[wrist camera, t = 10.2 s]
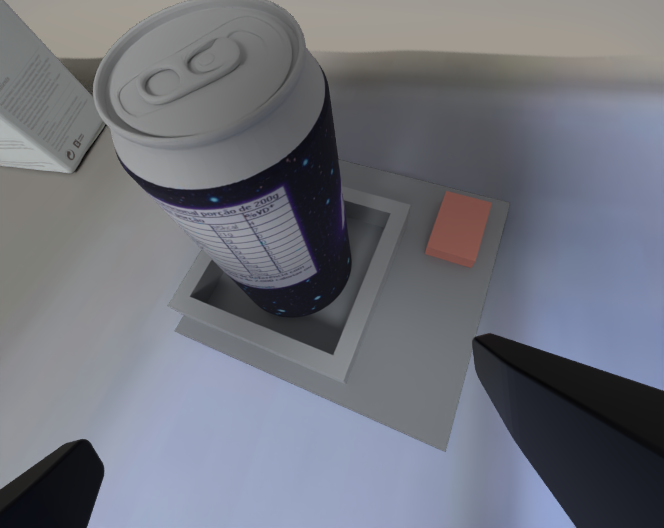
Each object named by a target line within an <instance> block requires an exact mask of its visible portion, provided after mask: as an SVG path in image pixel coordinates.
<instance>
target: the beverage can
mask: <svg viewBox="0 0 664 528" xmlns="http://www.w3.org/2000/svg"><path fill="white" fill-rule="evenodd" d="M93 98H94V103H95V107H96V109H97V111H98V113H99V115H100V117H101V118H102V120H103V121H104V122H105V123H106V124H107V126H109V127H110V129H111V134H112V138H113V143H114V147H115V151H116V154H117V156H118V159H119V161H120V163H121V165H122V166H123V168H124V169H125V170H126V172H127V173H128V174H129V175H130V176H131V177H132V178H133V179H134V180H135V181H136V182H137V183H138V184H139V185H140V186H141V187H142V188H143V189H144V190H145V191H146V192H147V193H148V194H149V195H150V196H151V197H152V198H153V199H154V200H155V201H156V203H157V204H158V205H159V206H160V207H161V208H162V209H163V210H164V211H165V212H166V213H167V214H168V215H169V216H170V217H171V218H172V219H173V220H174V221H175V222H176V223H177V224H178V225H179V226H180V227H181V228H182V229H183V230H184V231H185V232H186V233H187V234H188V235H189V236H190V237H191V238H192V239H193V240H194V241H195V242H196V243H197V244H198V245H199V246H200V247H201V248H202V250H203V251H204V252H205V253H206V254H207V255H208V256H209V257H210V258H211V259H212V260H213V261H214V262H215V263H216V264H217V265H218V266H219V267H220V268H221V269H222V270H223V271H224V272H225V273H226V274H227V275H228V276H229V277H230V278H231V279H232V280H233V281H234V282H235V283H236V284H237V285H238V286H239V287H240V288H241V289H242V290H243V291H244V292H245V293H246V294H247V295H248V297H249V298H250V299H251V300H252V301H253V302H254V303H255V304H256V305H258V306H259V307H260V308H262V309H263V310H265V311H266V312H268V313H271V314H273V315H277V316H281V317H289V318H294V317H303V316H307V315H311V314H313V313H316V312H318V311H320V310H322V309H324V308H325V307H327V306H328V305H330V304H331V303H332V302H333V301H334V300H335V299H336V298H337V297H338V296H339V295H340V294H341V292H342V291H343V289H344V288H345V286H346V284H347V282H348V279H349V276H350V272H351V266H352V259H351V250H350V243H349V235H348V228H347V221H346V213H345V206H344V198H343V191H342V183H341V176H340V168H339V161H338V153H337V146H336V138H335V131H334V123H333V116H332V108H331V101H330V93H329V87H328V82H327V79H326V76H325V74H324V72H323V70H322V68H321V67H320V65H319V64H318V62H317V61H316V59H315V58H314V57H313V56H312V54H311V53H310V52H309V51H308V49H307V48H306V45H305V39H304V35H303V33H302V30H301V28H300V26H299V24H298V23H297V21H296V20H295V19H294V17H293V16H292V15H291V14H290V13H288V12H287V11H286V10H285V9H284V8H282V7H280V6H279V5H277V4H275V3H273V2H271V1H268V0H187V1H184V2H181V3H178V4H175V5H173V6H170V7H167V8H165V9H163V10H161V11H159V12H157V13H155V14H153V15H151V16H149V17H148V18H146V19H144V20H143V21H141V22H139V23H138V24H136V25H135V26H134V27H132V28H131V29H130V30H128V31H127V32H126V33H125V34H124V35H123V36H122V37H121V38H119V39H118V40H117V41H116V43H115V44H114V45H113V46H112V47H111V48H110V49H109V51H108V52H107V53H106V55H105V56H104V58H103V59H102V61H101V63H100V65H99V67H98V69H97V72H96V75H95V79H94V83H93Z"/></svg>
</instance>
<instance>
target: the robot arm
mask: <svg viewBox="0 0 664 528" xmlns="http://www.w3.org/2000/svg"><path fill="white" fill-rule="evenodd" d="M472 348H473V356H474V364H475V370H476V373H477V376H478V378H479V380H480V381H481V383H482V385H483V387H484V388H485V390H486V392H487V394H488V396H489V397H490V399H491V401H492V403H493V404H494V406H495V408H496V410H497V411H498V413H499V415H500V417H501V418H502V420H503V422H504V424H505V425H506V427H507V429H508V431H509V432H510V434H511V436H512V437H513V439H514V440H515V442H516V443H517V445H518V446H519V448H520V449H521V451H522V452H523V454H524V455H525V456H526V458H527V459H528V461H529V462H530V463H531V465H532V466H533V468H534V469H535V470H536V472H537V473H538V475H539V476H540V477H541V479H542V480H543V482H544V483H545V484H546V486H547V487H548V489H549V490H550V491H551V493H552V494H553V495H554V497H555V498H556V500H557V501H558V502H559V504H560V505H561V507H562V508H563V509H564V511H565V512H566V514H567V515H568V516H569V518H570V519H571V521H572V522H573V523H574V525H575V526H576V528H664V391H663V390H660V389H657V388H654V387H651V386H648V385H645V384H642V383H639V382H636V381H633V380H630V379H627V378H624V377H621V376H618V375H615V374H612V373H609V372H606V371H603V370H600V369H597V368H594V367H591V366H588V365H585V364H582V363H579V362H576V361H573V360H570V359H567V358H564V357H561V356H558V355H555V354H552V353H549V352H546V351H543V350H540V349H537V348H534V347H531V346H528V345H525V344H522V343H519V342H516V341H513V340H510V339H507V338H504V337H501V336H498V335H495V334H491V333H488V334H484V335H480V336H476V337H474V338H473V339H472ZM103 477H104V465H103V463H102V461H101V459H100V458H99V456H98V454H97V453H96V451H95V449H94V448H93V446H92V444H91V443H90V442H89V441H88V440H86V439H80V440H76V441H72V442H69V443H66V444H64V445H62V446H61V447H59V448H58V449H57V450H55V451H54V452H52V453H51V454H50V455H48V456H47V457H45V458H44V459H43V460H41V461H40V462H38V463H37V464H35V465H34V466H33V467H31V468H30V469H28V470H27V471H26V472H24V473H23V474H21V475H20V476H19V477H17V478H16V479H14V480H13V481H12V482H10V483H9V484H7V485H6V486H5V487H3V488H2V489H0V528H87V526H88V523H89V520H90V517H91V514H92V511H93V508H94V505H95V502H96V499H97V496H98V493H99V490H100V487H101V483H102V480H103Z"/></svg>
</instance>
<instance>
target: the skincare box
mask: <svg viewBox="0 0 664 528" xmlns="http://www.w3.org/2000/svg"><path fill="white" fill-rule="evenodd" d="M105 124H106V123H105V122H104V121H103V120H102V118H101V117H100V115H99V113H98V111H97V109H96V107H95V103H94V98H93V96H92V95H91V94H90V93H89V92H88V91H87V90H86V89H85V88H84V86H83V85H82V84H81V83H80V82H79V81H78V80H77V79H76V78H75V77H74V76H73V75H72V74H71V73H70V71H69V70H68V69H67V68H66V67H65V66H64V65H63V64H62V63H61V62H60V61H59V60H58V58H57V57H56V56H55V55H54V54H53V53H52V52H51V51H50V50H49V49H48V48H47V47H46V45H45V44H44V43H43V42H42V41H41V40H40V39H39V38H38V37H37V36H36V35H35V33H34V32H33V31H32V30H31V29H30V28H29V27H28V26H27V25H26V24H25V23H24V22H23V21H22V20H21V18H20V17H19V16H18V15H17V14H16V13H15V12H14V11H13V10H12V9H11V8H10V7H9V5H8V4H7V3H6V2H5V1H4V0H0V166H8V167H18V168H27V169H35V170H45V171H57V172H64V173H73V172H74V171H75V170H76V168H77V167H78V165H79V163H80V162H81V159H82V158H83V156H84V154H85V153H86V151H87V150H88V149H89V147H90V146H91V144H92V143H93V142H94V140H95V139H96V138H97V136H98V135H99V134H100V132H101V131H102V129H103V127H104V126H105Z"/></svg>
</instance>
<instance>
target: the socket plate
mask: <svg viewBox="0 0 664 528" xmlns="http://www.w3.org/2000/svg"><path fill="white" fill-rule="evenodd" d="M338 161H339V168H340V176H341V183H342V191H343V198H344V206H345V213H346V221H347V228H348V235H349V243H350V250H351V259H352V266H351V272H350V276H349V279H348V282H347V284H346V286H345V288H344V289H343V291H342V292H341V294H340V295H339V296H338V297H337V298H336V299H335V300H334V301H333V302H332V303H331V304H330V305H328V306H327V307H325V308H324V309H322V310H320V311H318V312H316V313H313V314H311V315H307V316H303V317H294V318H289V317H281V316H277V315H273V314H271V313H268V312H266V311H265V310H263V309H262V308H260V307H259V306H258V305H256V304H255V303H254V302H253V301H252V300H251V299H250V298H249V297H248V295H247V294H246V293H245V292H244V291H243V290H242V289H241V288H240V287H239V286H238V285H237V284H236V283H235V282H234V281H233V280H232V279H231V278H230V277H229V276H228V275H227V274H226V273H225V272H224V271H223V270H222V269H221V268H220V267H219V266H218V265H217V264H216V263H215V262H214V261H213V260H212V259H211V258H210V257H209V256H208V255H207V254H206V253H205V252H204V251H203V250H201V252H200V253H199V255H198V257H197V258H196V260H195V262H194V263H193V265H192V266H191V268H190V270H189V271H188V273H187V275H186V276H185V278H184V280H183V281H182V283H181V284H180V286H179V288H178V289H177V291H176V293H175V294H174V296H173V298H172V299H171V301H170V302H169V304H168V306H169V307H170V308H172V309H174V310H175V311H177V312H179V313H181V314H182V315H184V316H183V317H182V319H181V321H180V322H179V324H178V326H177V327H176V329H175V332H177V333H180V334H182V335H184V336H186V337H188V338H191V339H193V340H195V341H197V342H200V343H202V344H204V345H206V346H209V347H211V348H213V349H215V350H218V351H220V352H222V353H224V354H227V355H229V356H231V357H233V358H236V359H238V360H240V361H242V362H245V363H247V364H249V365H251V366H254V367H256V368H258V369H260V370H263V371H265V372H267V373H269V374H272V375H274V376H276V377H278V378H281V379H283V380H285V381H287V382H289V383H292V384H294V385H296V386H298V387H301V388H303V389H305V390H307V391H310V392H312V393H314V394H316V395H319V396H321V397H323V398H325V399H328V400H330V401H332V402H334V403H337V404H339V405H341V406H343V407H346V408H348V409H350V410H352V411H355V412H357V413H359V414H361V415H364V416H366V417H368V418H370V419H373V420H375V421H377V422H379V423H382V424H384V425H386V426H388V427H391V428H393V429H395V430H397V431H400V432H402V433H404V434H406V435H408V436H411V437H413V438H415V439H417V440H420V441H422V442H424V443H426V444H429V445H431V446H433V447H435V448H438V449H440V450H442V451H445V452H446V448H447V444H448V441H449V437H450V433H451V429H452V425H453V421H454V417H455V414H456V410H457V406H458V402H459V398H460V394H461V390H462V387H463V383H464V379H465V375H466V371H467V367H468V364H469V360H470V356H471V352H472V339H473V338H474V337H476V333H477V329H478V325H479V321H480V317H481V313H482V310H483V306H484V302H485V298H486V294H487V290H488V287H489V283H490V279H491V275H492V271H493V267H494V263H495V260H496V256H497V252H498V248H499V244H500V240H501V237H502V233H503V229H504V225H505V221H506V217H507V213H508V210H509V206H510V203H509V202H505V201H501V200H497V199H493V198H489V197H485V196H481V195H477V194H473V193H469V192H465V191H461V190H458V189H454V188H450V187H446V186H442V185H438V184H434V183H430V182H426V181H422V180H418V179H414V178H410V177H406V176H402V175H398V174H394V173H390V172H386V171H382V170H378V169H374V168H371V167H367V166H363V165H359V164H355V163H351V162H347V161H343V160H339V159H338Z"/></svg>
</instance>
